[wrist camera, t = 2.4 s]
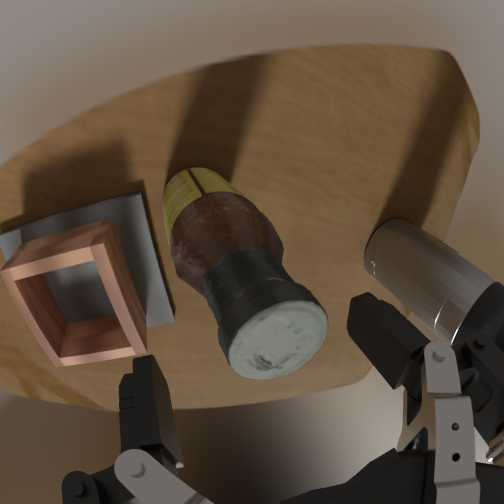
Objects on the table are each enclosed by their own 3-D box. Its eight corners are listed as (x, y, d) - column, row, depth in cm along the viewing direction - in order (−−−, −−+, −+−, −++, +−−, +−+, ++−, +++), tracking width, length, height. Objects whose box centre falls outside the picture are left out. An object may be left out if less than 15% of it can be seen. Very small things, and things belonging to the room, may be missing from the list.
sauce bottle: (171, 234, 27) (205, 418, 11) (154, 174, 24) (147, 318, 8) (235, 215, 29) (343, 368, 12) (223, 155, 25) (353, 252, 9)
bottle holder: (141, 191, 25) (136, 214, 19) (174, 316, 32) (180, 356, 26) (0, 233, 21) (-28, 262, 15) (52, 339, 28) (42, 377, 23)
